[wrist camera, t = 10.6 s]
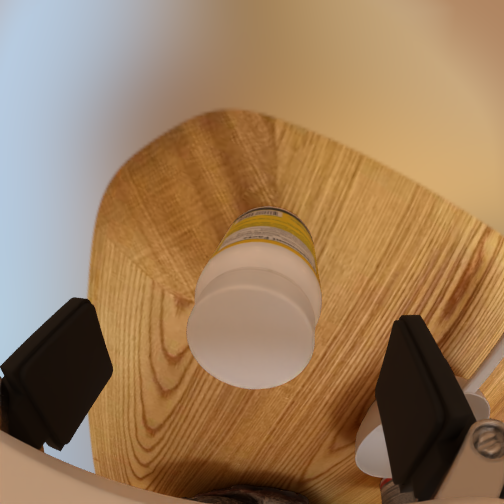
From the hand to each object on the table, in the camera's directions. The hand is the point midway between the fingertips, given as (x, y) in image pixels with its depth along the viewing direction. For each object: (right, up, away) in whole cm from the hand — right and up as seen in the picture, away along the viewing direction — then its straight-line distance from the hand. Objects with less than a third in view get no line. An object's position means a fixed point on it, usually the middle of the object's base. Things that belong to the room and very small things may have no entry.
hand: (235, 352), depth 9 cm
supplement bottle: (+1, +3, +8) cm, 9 cm away
